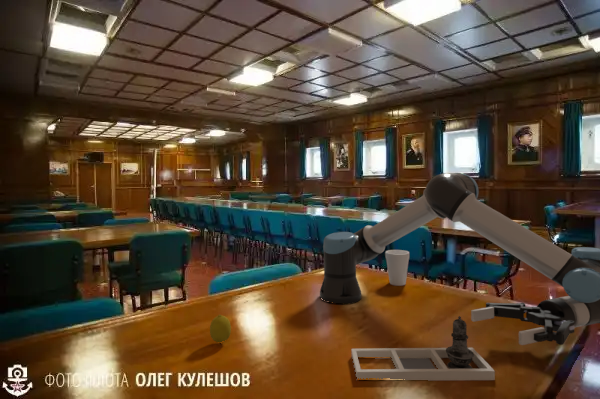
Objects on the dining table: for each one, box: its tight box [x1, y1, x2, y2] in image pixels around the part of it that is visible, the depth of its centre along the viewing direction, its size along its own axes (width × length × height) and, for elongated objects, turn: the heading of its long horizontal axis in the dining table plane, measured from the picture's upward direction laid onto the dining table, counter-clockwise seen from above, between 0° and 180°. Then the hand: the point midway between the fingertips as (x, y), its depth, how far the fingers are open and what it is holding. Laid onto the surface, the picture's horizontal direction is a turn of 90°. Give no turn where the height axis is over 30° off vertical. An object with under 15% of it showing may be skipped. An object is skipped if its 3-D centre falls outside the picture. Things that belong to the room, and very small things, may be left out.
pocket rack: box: [350, 347, 496, 381], centre depth 80 cm, size 29×10×2 cm, turn 88°
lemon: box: [209, 314, 232, 343], centre depth 95 cm, size 6×6×8 cm
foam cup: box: [384, 249, 410, 287], centre depth 144 cm, size 10×9×13 cm
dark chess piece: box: [446, 315, 474, 369], centre depth 80 cm, size 6×6×12 cm
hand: (494, 326), depth 82 cm, fingers open, 13 cm apart
